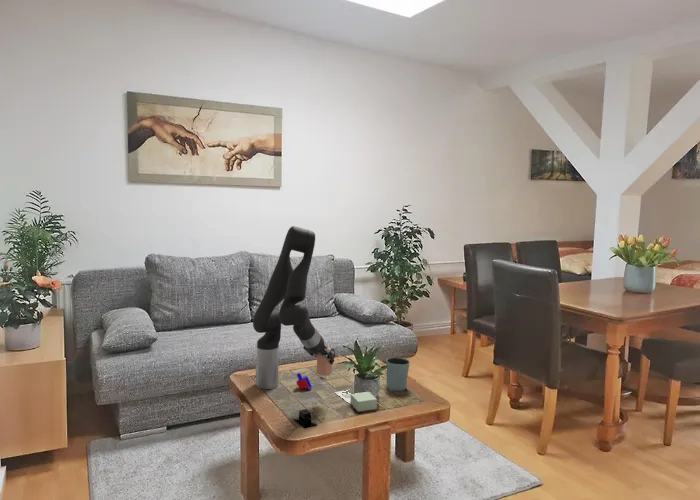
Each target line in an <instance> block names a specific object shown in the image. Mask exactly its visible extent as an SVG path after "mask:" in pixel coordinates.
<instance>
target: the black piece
mask: <svg viewBox="0 0 700 500" xmlns="http://www.w3.org/2000/svg"><path fill="white" fill-rule="evenodd" d="M292 420H293V421H294V422H295V423H297V424H298V425H299V426H300V427H302V428H303V429H305V430H307V429H310V428H312V427H317V426H318V424H317V423H316V422H314V421H313V420H312V411H310V410H308V409H307V408H304V409H301V410H299V411H298V417H295V418H292Z"/></svg>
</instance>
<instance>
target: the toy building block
mask: <svg viewBox="0 0 700 500" xmlns="http://www.w3.org/2000/svg"><path fill="white" fill-rule="evenodd" d="M296 376H297V378H298V379H297V380H296V385H297V387H298V389H299V390H303V389H305V388H307V390H308V391H310V390H311V389H312V387H313V386H312V384H311V383H312V382H311V381H310V379H309V378H308V376H302V374H301V372H299V373H296Z"/></svg>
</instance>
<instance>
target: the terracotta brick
mask: <svg viewBox="0 0 700 500" xmlns="http://www.w3.org/2000/svg"><path fill="white" fill-rule="evenodd" d="M327 348H328V349H329V350H331V349H332V347H331V348H330V347H327ZM328 356H329V355H328ZM316 374H317V375H319V376H320V375H323V376H330V375H331V374H333V364H330V363H329V361H328V360H327V359H326V358H323V357H322V356H321V355H319V354H317V357H316ZM329 374H330V375H329Z"/></svg>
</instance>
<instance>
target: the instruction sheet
mask: <svg viewBox="0 0 700 500" xmlns="http://www.w3.org/2000/svg"><path fill="white" fill-rule="evenodd" d="M345 390H346V391H348V390H349V389H345ZM346 391H344V390H339V391H336V392H334V394H335V393H336V394H335V395H336V396H338V397H339V396H340V397H339V398H341V399H342V398H343V399H344V400H343V399H342V400H343V401H345V402H346V403H347V402H348V403H347V404H350V399H351V393H349V392H348V394H346V393H342V392H346ZM342 394H343V395H342Z"/></svg>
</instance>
